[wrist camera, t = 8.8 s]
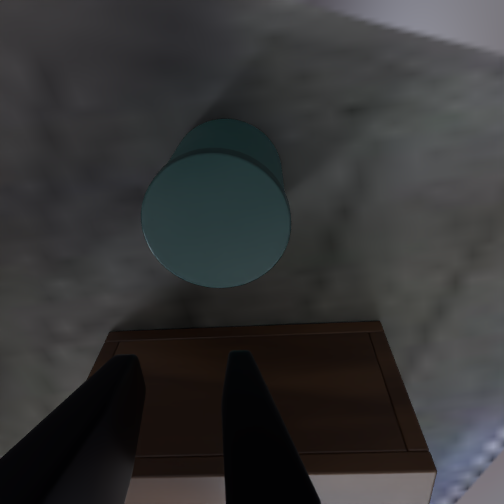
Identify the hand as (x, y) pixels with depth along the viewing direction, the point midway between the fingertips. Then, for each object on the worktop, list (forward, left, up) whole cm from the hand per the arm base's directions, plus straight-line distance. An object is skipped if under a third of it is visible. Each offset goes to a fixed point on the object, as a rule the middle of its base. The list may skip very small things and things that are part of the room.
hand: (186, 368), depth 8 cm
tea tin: (0, 0, -11) cm, 11 cm away
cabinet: (0, -15, -11) cm, 19 cm away
